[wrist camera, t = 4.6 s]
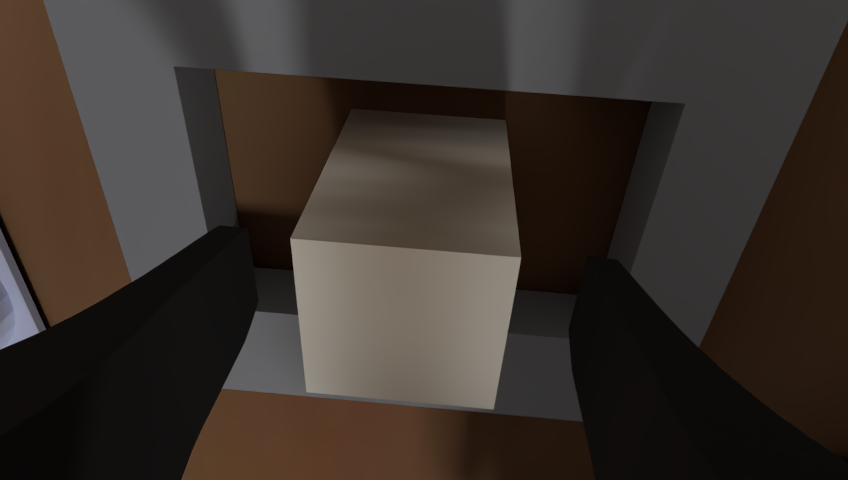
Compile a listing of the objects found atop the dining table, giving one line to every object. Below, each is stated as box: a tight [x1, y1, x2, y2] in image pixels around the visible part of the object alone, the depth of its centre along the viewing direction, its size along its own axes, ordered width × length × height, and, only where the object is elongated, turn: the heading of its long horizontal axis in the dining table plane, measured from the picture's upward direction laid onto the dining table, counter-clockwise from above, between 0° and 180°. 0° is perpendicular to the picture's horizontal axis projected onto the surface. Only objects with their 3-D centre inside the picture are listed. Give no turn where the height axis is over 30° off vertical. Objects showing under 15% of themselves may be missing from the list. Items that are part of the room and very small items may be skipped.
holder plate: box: [43, 0, 848, 422], centre depth 15 cm, size 16×14×2 cm
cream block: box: [290, 109, 521, 409], centre depth 13 cm, size 4×4×6 cm
